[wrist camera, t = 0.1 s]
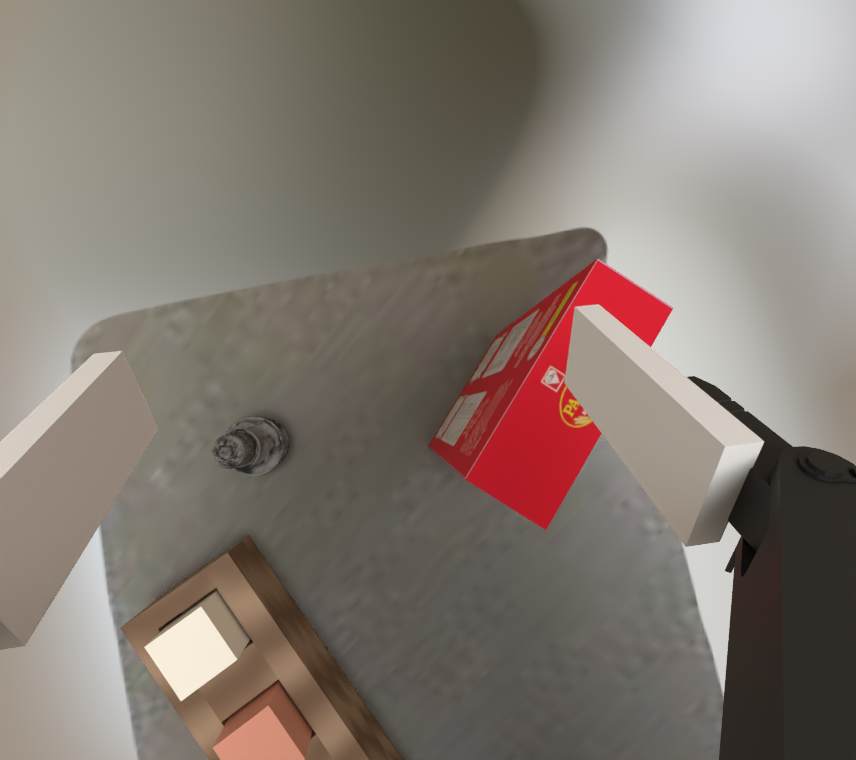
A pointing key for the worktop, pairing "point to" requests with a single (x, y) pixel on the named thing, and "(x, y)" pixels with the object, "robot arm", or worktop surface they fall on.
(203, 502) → the worktop surface
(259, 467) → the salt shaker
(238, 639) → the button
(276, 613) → the mount
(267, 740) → the middle button
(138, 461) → the robot arm
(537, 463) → the food packaging
